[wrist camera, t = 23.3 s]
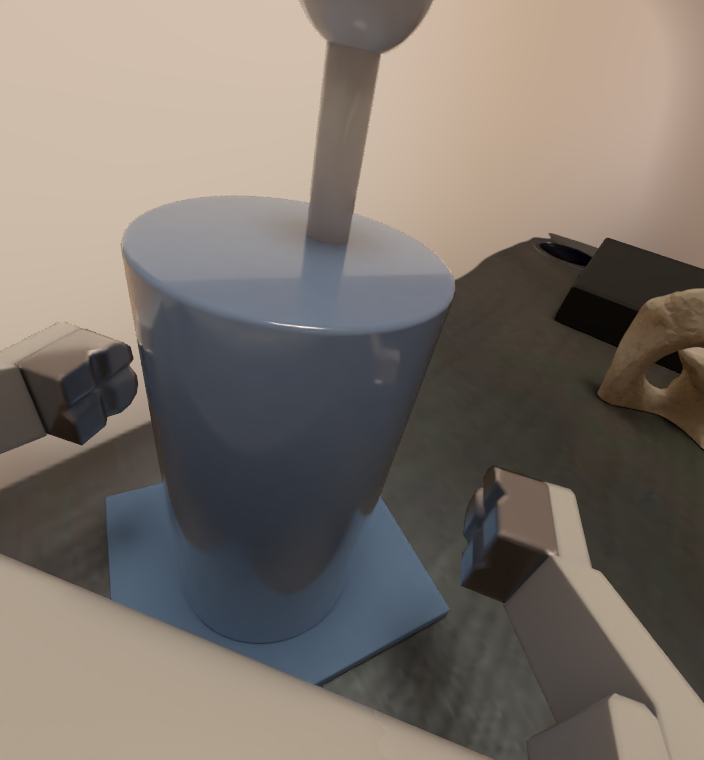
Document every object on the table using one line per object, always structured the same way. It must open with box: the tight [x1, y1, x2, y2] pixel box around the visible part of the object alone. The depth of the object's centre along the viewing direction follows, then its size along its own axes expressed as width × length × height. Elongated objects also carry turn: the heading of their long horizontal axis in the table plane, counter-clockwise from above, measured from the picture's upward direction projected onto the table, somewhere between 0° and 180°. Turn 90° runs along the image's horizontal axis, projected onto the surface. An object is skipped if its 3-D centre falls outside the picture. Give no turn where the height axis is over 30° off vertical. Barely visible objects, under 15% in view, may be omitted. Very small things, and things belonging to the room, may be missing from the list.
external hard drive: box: [555, 238, 704, 373], centre depth 37 cm, size 14×23×3 cm, turn 145°
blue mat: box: [105, 483, 450, 686], centre depth 13 cm, size 9×8×1 cm
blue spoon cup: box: [121, 0, 455, 643], centre depth 8 cm, size 5×5×15 cm
